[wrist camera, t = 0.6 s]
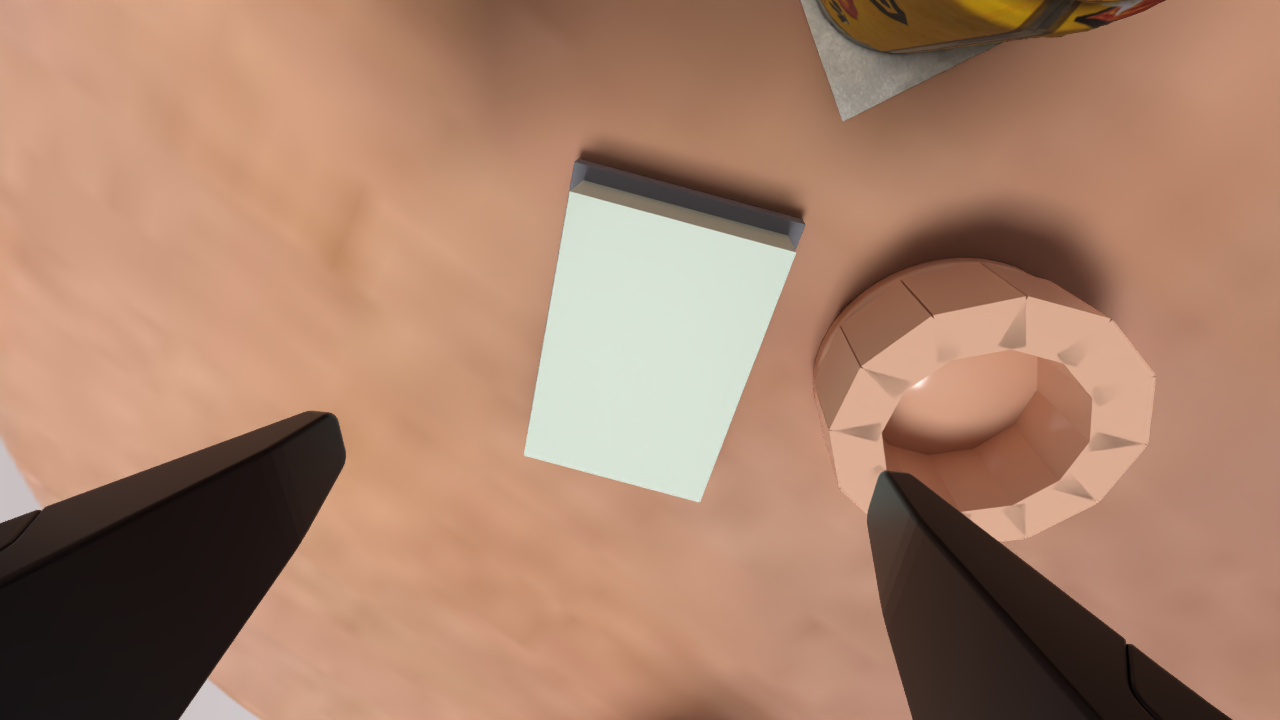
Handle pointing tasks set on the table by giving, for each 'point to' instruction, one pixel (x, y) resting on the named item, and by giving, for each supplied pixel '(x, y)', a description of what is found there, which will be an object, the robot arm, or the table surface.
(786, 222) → the mat
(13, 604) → the robot arm
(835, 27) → the condiment
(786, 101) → the table surface
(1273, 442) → the table surface
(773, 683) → the table surface
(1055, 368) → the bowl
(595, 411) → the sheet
